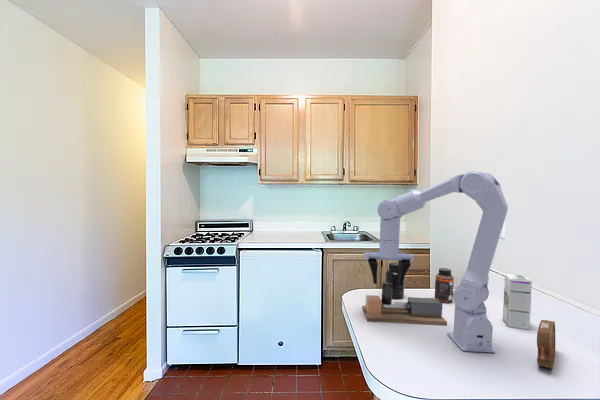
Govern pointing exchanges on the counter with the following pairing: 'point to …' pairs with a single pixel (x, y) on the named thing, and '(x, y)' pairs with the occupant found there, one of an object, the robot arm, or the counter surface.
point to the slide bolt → (387, 299)
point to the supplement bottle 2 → (444, 285)
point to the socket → (373, 304)
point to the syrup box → (517, 301)
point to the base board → (402, 317)
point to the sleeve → (425, 307)
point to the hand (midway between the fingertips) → (387, 283)
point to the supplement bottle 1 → (394, 281)
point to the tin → (546, 344)
